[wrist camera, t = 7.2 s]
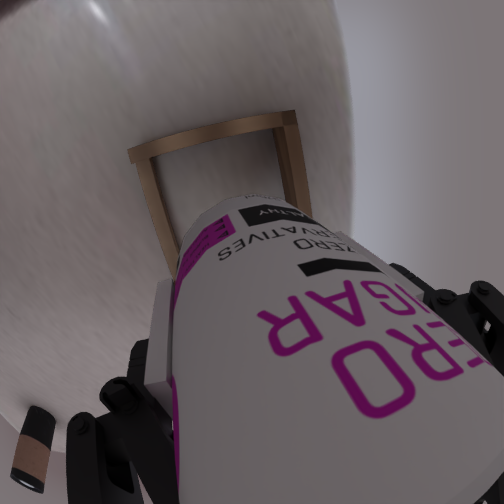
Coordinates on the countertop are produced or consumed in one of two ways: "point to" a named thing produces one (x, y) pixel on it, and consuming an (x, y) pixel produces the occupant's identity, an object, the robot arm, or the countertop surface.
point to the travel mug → (33, 449)
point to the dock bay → (278, 121)
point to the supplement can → (318, 373)
